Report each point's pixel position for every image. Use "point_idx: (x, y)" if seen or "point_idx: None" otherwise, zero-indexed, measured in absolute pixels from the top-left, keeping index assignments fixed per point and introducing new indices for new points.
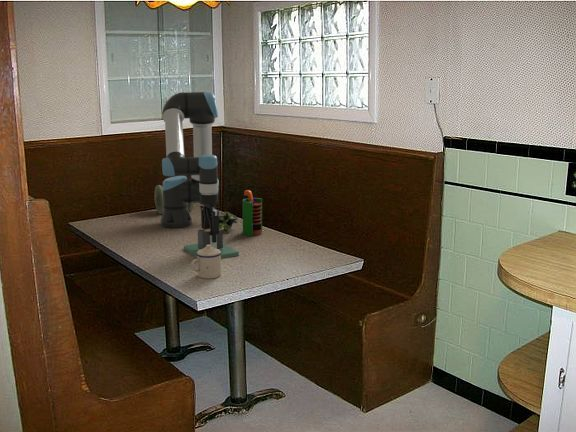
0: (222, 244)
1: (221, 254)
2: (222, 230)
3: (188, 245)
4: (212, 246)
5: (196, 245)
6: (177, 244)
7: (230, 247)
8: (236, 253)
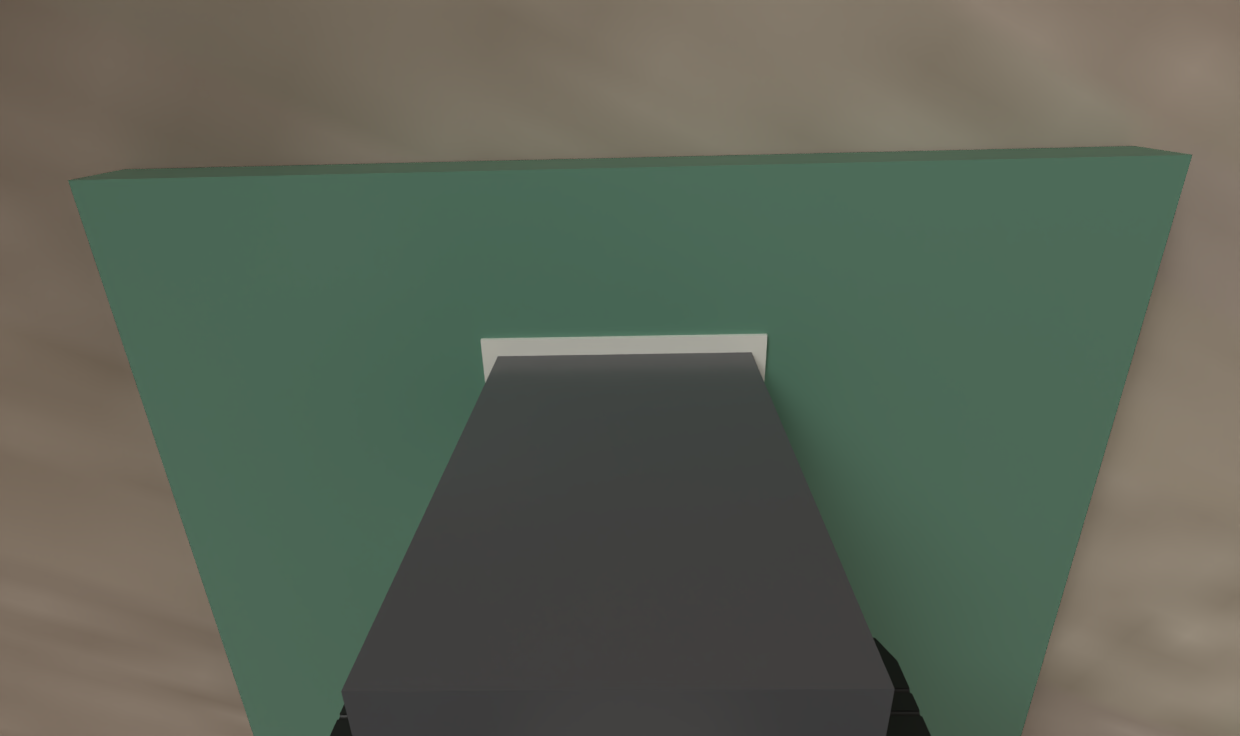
0: (765, 399)
1: (1074, 519)
2: (879, 665)
3: (271, 728)
4: None
5: (318, 645)
6: (7, 720)
7: (761, 171)
8: (1154, 209)
